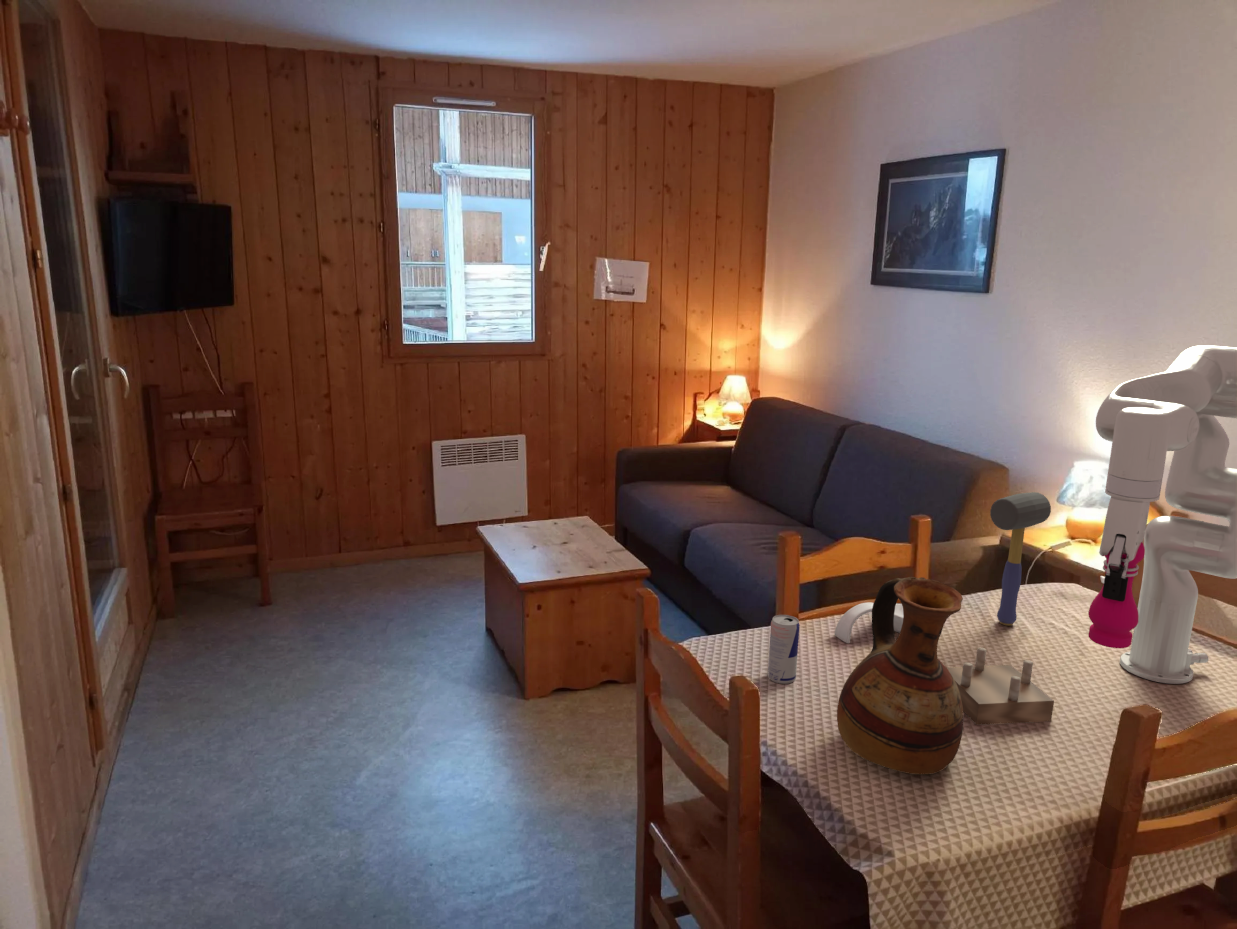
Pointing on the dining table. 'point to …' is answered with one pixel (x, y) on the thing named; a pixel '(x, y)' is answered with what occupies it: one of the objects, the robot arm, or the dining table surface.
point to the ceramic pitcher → (905, 684)
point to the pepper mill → (1115, 611)
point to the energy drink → (783, 649)
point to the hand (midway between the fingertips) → (1116, 592)
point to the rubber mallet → (1016, 542)
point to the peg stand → (1000, 693)
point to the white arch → (855, 612)
